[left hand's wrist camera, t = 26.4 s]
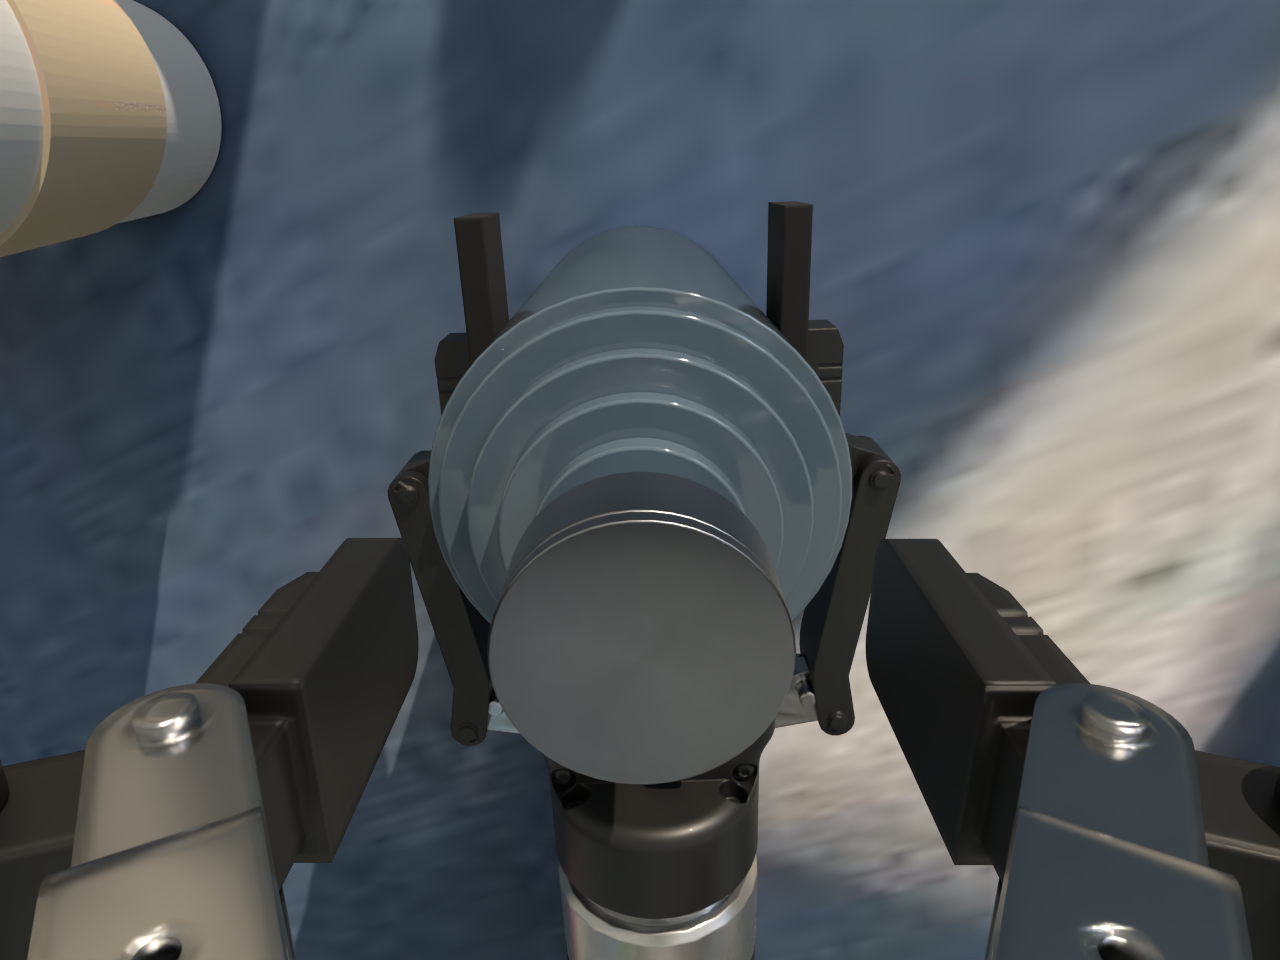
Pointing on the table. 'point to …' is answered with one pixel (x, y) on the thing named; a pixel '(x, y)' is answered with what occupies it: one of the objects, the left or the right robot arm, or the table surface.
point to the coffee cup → (97, 119)
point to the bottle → (639, 412)
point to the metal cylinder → (641, 631)
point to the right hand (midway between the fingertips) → (632, 210)
